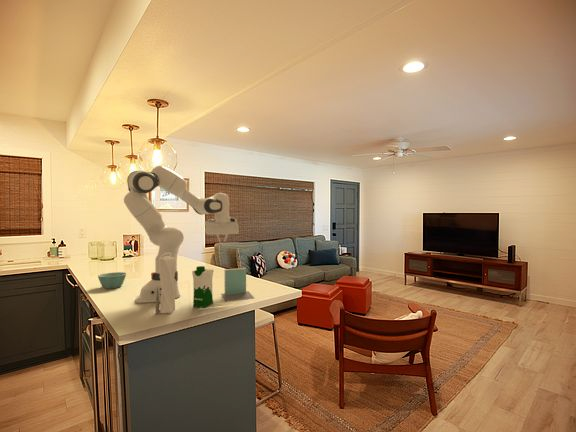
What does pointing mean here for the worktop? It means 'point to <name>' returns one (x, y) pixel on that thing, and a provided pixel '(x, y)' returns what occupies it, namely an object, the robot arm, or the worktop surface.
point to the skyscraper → (166, 285)
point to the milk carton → (202, 287)
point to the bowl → (112, 280)
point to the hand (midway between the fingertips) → (222, 241)
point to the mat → (237, 296)
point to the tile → (235, 281)
